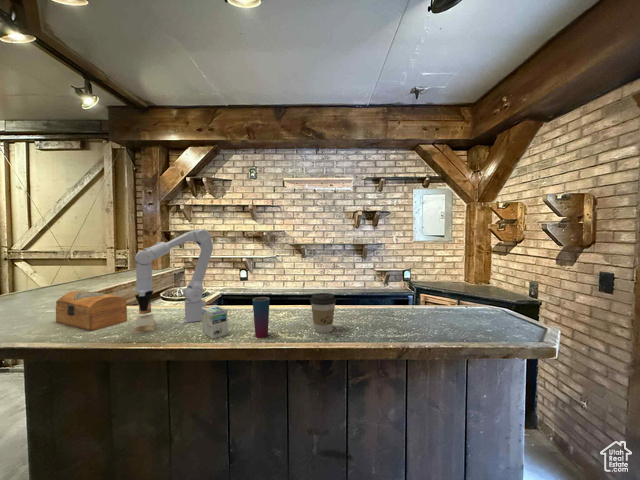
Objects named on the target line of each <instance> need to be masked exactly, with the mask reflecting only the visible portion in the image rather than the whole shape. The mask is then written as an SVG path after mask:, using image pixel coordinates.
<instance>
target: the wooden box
mask: <svg viewBox="0 0 640 480" xmlns="http://www.w3.org/2000/svg"><path fill="white" fill-rule="evenodd" d="M55 303H56V304H55V321H56V323H57V324H60V325H65V326H69V327H73V328H76V329H80V330H84V331H88V332H92V331H97V330H100V329H103V328H106V327H110V326H115V325H118V324H122V323H125V322H127V320H128V311H127V310H128V306H127V300H126V299H125V298H123V297H121V296H120V295H119V296H118V295H113V294H106V293H102V292H97V291H88V290H87V291H86V290H73V291H69V292H67V293H65V294H63V295H62V296H60V297H59V298H58V299H57V300H56V302H55Z"/></svg>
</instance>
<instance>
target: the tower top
mask: <svg viewBox="0 0 640 480" xmlns="http://www.w3.org/2000/svg"><path fill="white" fill-rule="evenodd" d="M154 320H155V319H154V313H152V314H151V313H149V314H141V315H137V316H136V318H135V319H134V326H135V327H139V326H146V325H152V324H153V321H154Z"/></svg>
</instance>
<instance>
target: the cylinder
mask: <svg viewBox="0 0 640 480" xmlns="http://www.w3.org/2000/svg"><path fill="white" fill-rule="evenodd" d="M151 313H152V302H151V301H150V302H148V309H147V311H141V309H140V306H139V305H138V315H139V314H140V315H148V314H151Z"/></svg>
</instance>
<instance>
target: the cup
mask: <svg viewBox="0 0 640 480" xmlns="http://www.w3.org/2000/svg"><path fill="white" fill-rule="evenodd" d="M270 301H271V299H270V297H267V296H259V297H255V298H252V311H253V322H254V324H253V325H254V326H253V327H254V336H255V338H257V339H263V338H267V337H268V336H269V321H270V320H269V318H270V317H269V316H270Z"/></svg>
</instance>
